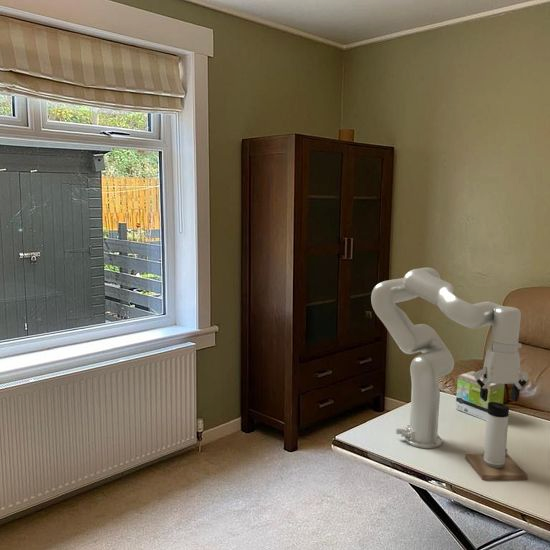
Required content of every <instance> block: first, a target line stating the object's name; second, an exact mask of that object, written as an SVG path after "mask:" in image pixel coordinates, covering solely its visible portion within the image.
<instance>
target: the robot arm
mask: <svg viewBox="0 0 550 550" xmlns="http://www.w3.org/2000/svg"><path fill="white" fill-rule="evenodd" d="M454 290H455V289H454V286H453V284H452V283H450V282H448V281H445V280H444V279H441V276H440V273H439V272H438V271H437V270H436V269H434V268H432V267H421V268H414V269H411V270H409V271H407V272H406V273H405V274H404V277H401V278H395V279H389V280H384V281H381V282H378V283H377V284H376V285H375V286H374V287H373V289H372V291H371V296H370V299H371V300H370V301H371V306H372V309H373V311H374V312H375V315H376V316H377V318H379V320H380V321H381V322H382V324H383V325H384V327H385V328H386V330H387V331H388V333H389V335H390V336H391V337H392V338H393V340H394V342H395V343H396V345H397V347H399V349H400V350H401V351H402V352H403V353H404V354H407V355H413V354H416V353H420V352H421V353H420V354H418V355H416V356H415V357H414V358H413V359H412V360H411V363H410V366H409V370H410V373H409V374H410V381H411V392H410V393H411V395H410V396H411V399H410V413H409V414H410V416H409V424H407V426H406V427H405V428H395V434H396V435H401V436H400V437H404V440H405V442H406V443H408V444H409V445H411V446H413V447H417V448H421V449H434V448H438V447H440V446H441V445H442V443H443V441H442V438H441V436H440V435H438V434H439V433H438V431H439V429H438V428H439V415H440V401H441V400H440V399H441V398H440V397H441V394H440V393H441V391H440V390H441V389H440V387H439V382H438V379H440V378H442V377H444V376H446V375H447V376H448V375H449V374H450V373H451V372H452V371H453V370H454V368H455V367H454V366H455V360H454V357H453V355H452V353H451V351H450V350H449V348H448V347H447V345H445V343H444V341H443V340H442V338H441V337H440V336H439V334H438V333H437V332H436V330H435V329H434V328H433V327H431V326H430V325H428V324H425V323H417V324H414V323H413V322H412V321H411V320H410V318H409V317H408V315H407V313H406V312H405V311H404V310H402V309H401V308H400V307H399V306H398V305H396V304H398V303H402V302H406V301H410V300H413V299H416V298H418V297H420V298H421V299H423V300H425V301H427V302H429V303H431V304H432V305H435V306H437V307H438V308H439V309H440V311H441V312H442V314H444V315H445V316H446V317H447V318H448V319H450V320H451V321H453V322H454V323H457V324H458V325H461V326H463V327H464V328H465V327H466V328H468V329H472V330H477V329H480V328H484V327H489V326H492V333H491V343H490V348H488V349H487V351H486V354H485V357H484V362H483V368H482V369H479V370H477V371H474V372H475V373H474V374H473V375H474V378H475V380H476V382H477V383H478V384H479V385H480V386H481V388H480V397H481V399H482V400H484V401H487V396H488V389H487V387H488V386H489V385H490V384H491V383H495V384H505V385H508V384H509V385H510V384H511V385H512V387H511V395H510V399H512V400H513V401H514V402H518V401H519V399H520V391H521V390H522V389H523V387H524V386H525V385H526V384H527V381H528V380H529V379H530V374H529V373H526V372H525V371H523V370H521V360H520V359H521V358H520V353H519V349H521V348H522V347H523V344H522V343H521V342H519V337H520V329H521V327H520V326H521V317H522V316H521V315H522V313H521V310H520V309H519V308H517V307H513V306H506V305H501V304H498V303H496V302H492V301H486V300H485V301H480V302H477V303H473V304H472V303H469V302H467V301H466V300H463V299H461V298H459V297H458V296H456V295H455V294H454ZM480 376H483V378H484V379H483V380H482V381H481V380H480ZM521 376H522V378H521V379H520V377H521Z"/></svg>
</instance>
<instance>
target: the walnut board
mask: <svg viewBox="0 0 550 550" xmlns="http://www.w3.org/2000/svg"><path fill="white" fill-rule="evenodd" d="M464 459H465V460H466V461H467V462H468V464H469V466H471V468H472V469H473V471H474V472H475V473H476V474H477V475H478V476H479V478H480V479H481V480H482V481H490V480H491V481H501V480H502V481H503V480H504V481H506V480H508V481H509V480H510V481H512V480H514V481H517V480H518V481H519V480H522V481H526V480H528V477H529V476H528V474H527V472H526V471H524V469H523V468H522V467H521V466H520V465H519V464H518V463H516V461H515V460H514V459H513V458H512V457H511V456H510V455H509V454H508V448H506V454H505V465H504V467H502V468H492V467H489V466H487V465H486V464H485V463H484V462H483V460H484V453H465V455H464Z"/></svg>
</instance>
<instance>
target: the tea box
mask: <svg viewBox="0 0 550 550" xmlns="http://www.w3.org/2000/svg"><path fill="white" fill-rule="evenodd" d="M475 372H476V371H473V370H471V371H468V372H466V373H465V372H464V373H462V374H459V375H457V384H456V395H455V397H456V399H455V401H456V402H455V410H457V411H460V412H463V413H466V414H468V415H471V416H473V417H475V418H478V419H480V420H483V421H485V422H486V421H487V410H488V403H489V402H497V403H501V404H503V405H504V394H505V386H506V384H495V383H491V384H490V385H489V386H488V387H487V389H488V396H487V401H484V400H482V399H481V397H480V388H481V386H480V385H479V384H478V383H477V382H476V380H475V378H474V375H473V374H474V373H475ZM483 379H484V378H483V376H480V380H481V381H482V380H483Z"/></svg>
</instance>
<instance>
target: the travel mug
mask: <svg viewBox="0 0 550 550" xmlns="http://www.w3.org/2000/svg"><path fill="white" fill-rule="evenodd" d="M509 412H510V407H509V406H507V405H505V404H504V403H503V404H501V403H497V402H489V403H488V410H487V421H485V422H486V423H485V437H484V450H483V454H484V460H483V462H484V463H485V464H486V465H487V466H489V467H492V468H502V467H504V465H505V454H506V449H507V442H508V441H507V440H508V427H509V417H510V416H509Z"/></svg>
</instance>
